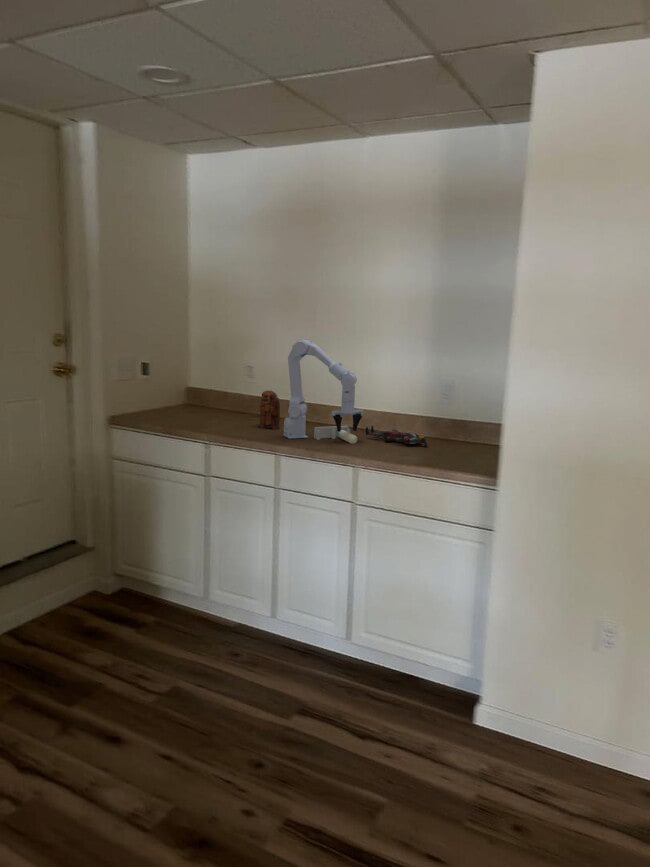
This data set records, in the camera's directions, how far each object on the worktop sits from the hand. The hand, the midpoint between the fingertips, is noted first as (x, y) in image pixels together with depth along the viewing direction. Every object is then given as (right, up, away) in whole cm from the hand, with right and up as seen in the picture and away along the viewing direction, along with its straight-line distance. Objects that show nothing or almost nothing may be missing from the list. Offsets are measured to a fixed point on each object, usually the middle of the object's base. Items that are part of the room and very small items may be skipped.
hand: (346, 431), depth 292 cm
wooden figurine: (-37, +2, +27) cm, 46 cm away
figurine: (+23, -5, +2) cm, 23 cm away
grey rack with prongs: (-6, -3, +5) cm, 9 cm away
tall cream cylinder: (0, -4, +2) cm, 5 cm away
